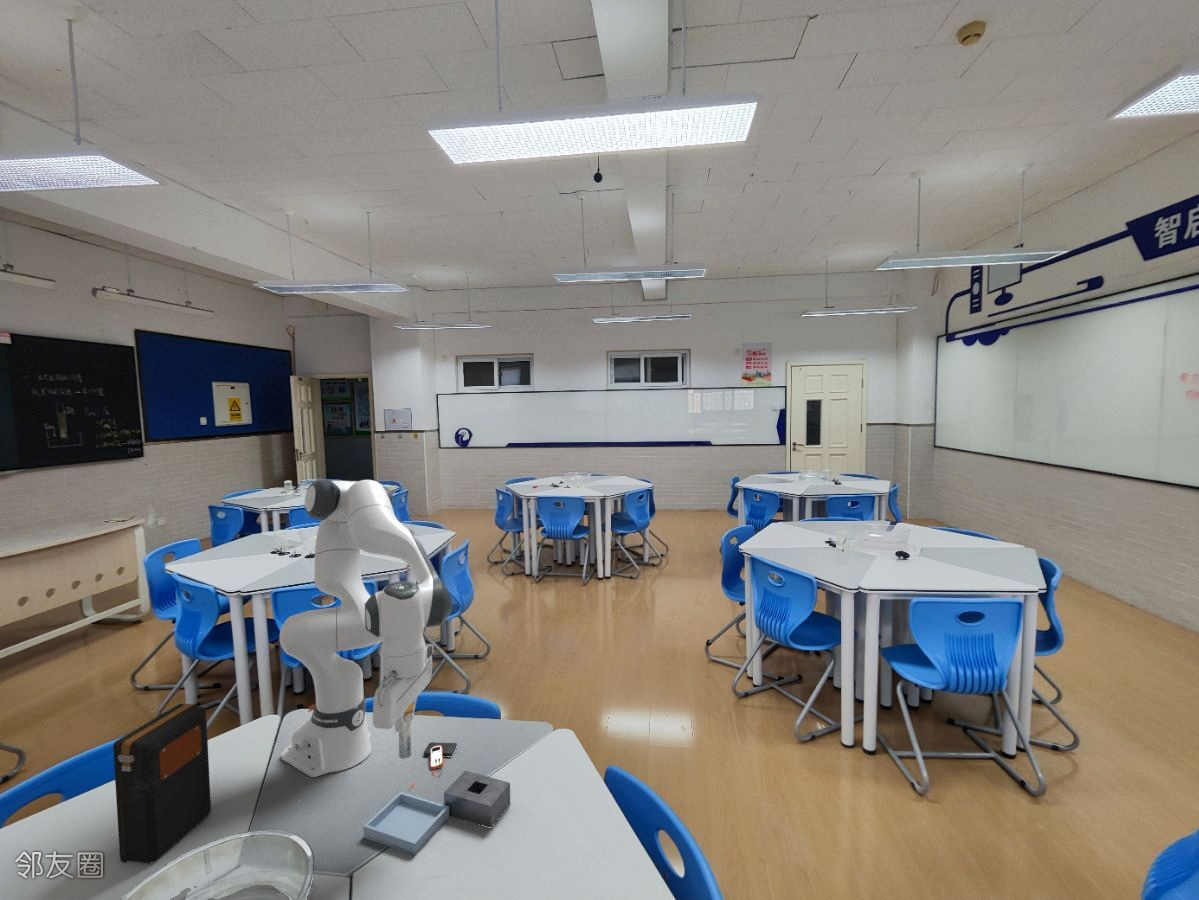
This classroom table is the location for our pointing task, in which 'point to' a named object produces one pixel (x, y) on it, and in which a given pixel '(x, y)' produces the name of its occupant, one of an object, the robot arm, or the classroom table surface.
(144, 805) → the black case
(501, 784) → the block
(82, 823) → the classroom table surface
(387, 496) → the robot arm
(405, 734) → the pin
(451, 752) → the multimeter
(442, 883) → the classroom table surface
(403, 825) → the tray
